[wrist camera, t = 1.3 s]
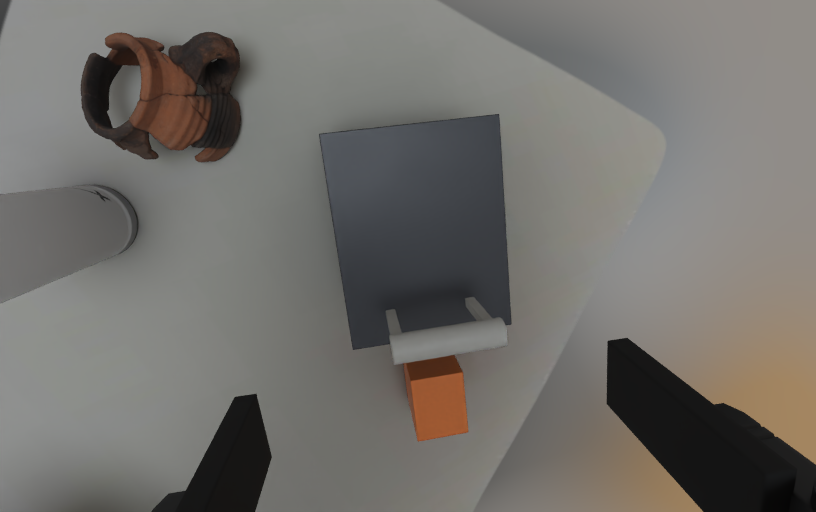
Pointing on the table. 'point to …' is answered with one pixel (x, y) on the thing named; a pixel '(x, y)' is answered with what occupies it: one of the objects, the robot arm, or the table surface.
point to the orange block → (436, 397)
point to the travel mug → (59, 234)
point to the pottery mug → (168, 94)
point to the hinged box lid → (421, 235)
